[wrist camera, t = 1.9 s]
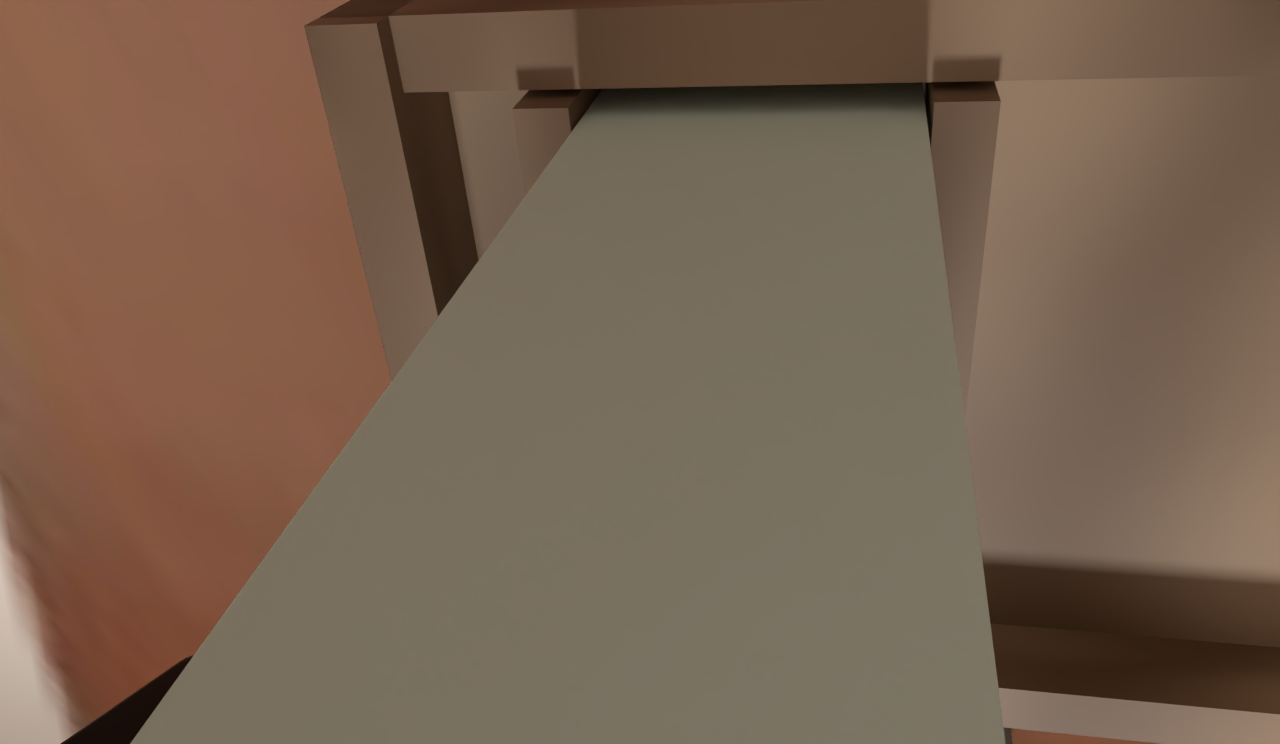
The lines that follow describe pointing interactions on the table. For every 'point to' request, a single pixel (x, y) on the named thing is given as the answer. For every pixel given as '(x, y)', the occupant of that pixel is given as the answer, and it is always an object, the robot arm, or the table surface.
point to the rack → (953, 282)
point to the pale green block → (650, 466)
